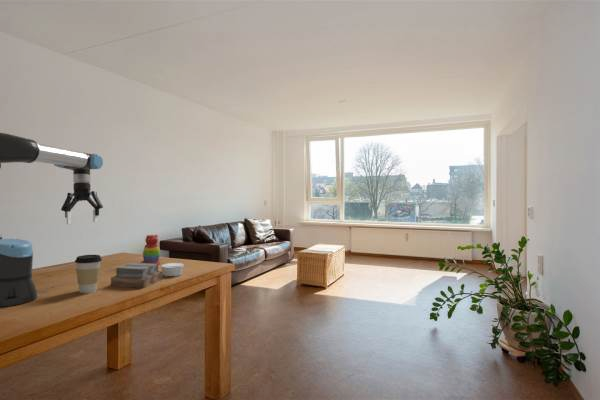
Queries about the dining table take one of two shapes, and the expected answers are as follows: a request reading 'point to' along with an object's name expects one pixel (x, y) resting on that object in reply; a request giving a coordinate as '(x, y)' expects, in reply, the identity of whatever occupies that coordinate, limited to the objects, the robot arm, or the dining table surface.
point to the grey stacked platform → (136, 275)
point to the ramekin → (172, 269)
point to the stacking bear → (151, 250)
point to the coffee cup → (88, 272)
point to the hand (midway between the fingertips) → (82, 223)
